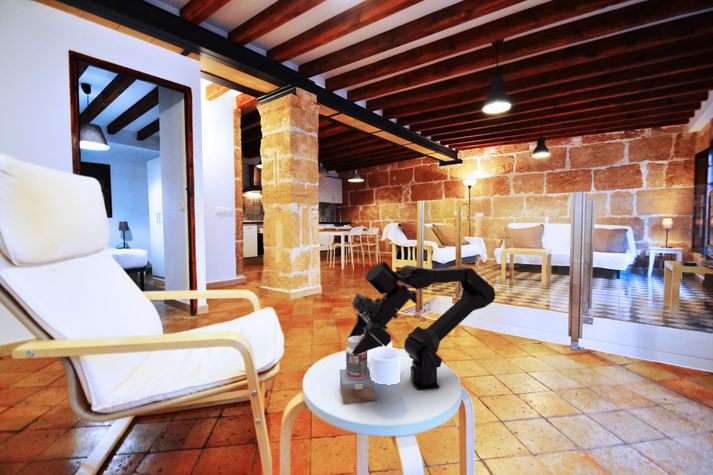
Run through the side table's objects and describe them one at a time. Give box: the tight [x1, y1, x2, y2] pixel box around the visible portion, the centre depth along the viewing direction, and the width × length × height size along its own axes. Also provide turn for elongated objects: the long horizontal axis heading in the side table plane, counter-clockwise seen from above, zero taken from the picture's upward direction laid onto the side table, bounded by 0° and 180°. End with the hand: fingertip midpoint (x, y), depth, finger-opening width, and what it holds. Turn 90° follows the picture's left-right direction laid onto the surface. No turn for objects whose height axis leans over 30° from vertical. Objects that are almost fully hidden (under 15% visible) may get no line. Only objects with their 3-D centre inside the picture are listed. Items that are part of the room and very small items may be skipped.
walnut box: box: [339, 376, 375, 405], centre depth 81 cm, size 8×8×4 cm
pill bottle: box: [345, 335, 368, 380], centre depth 81 cm, size 6×6×10 cm
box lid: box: [339, 366, 375, 389], centre depth 81 cm, size 8×8×1 cm
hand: (351, 346), depth 81 cm, fingers open, 9 cm apart
